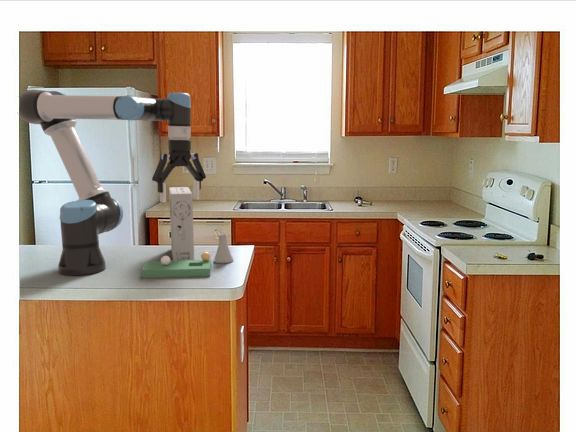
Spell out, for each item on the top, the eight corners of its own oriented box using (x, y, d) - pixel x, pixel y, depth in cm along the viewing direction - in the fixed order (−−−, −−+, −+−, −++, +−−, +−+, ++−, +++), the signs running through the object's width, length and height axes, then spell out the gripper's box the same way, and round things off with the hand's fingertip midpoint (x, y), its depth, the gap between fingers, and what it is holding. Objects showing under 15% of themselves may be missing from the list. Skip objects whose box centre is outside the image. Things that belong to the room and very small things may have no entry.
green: (141, 277, 172) (141, 270, 171) (147, 268, 183) (147, 261, 183) (209, 275, 174) (209, 268, 173) (211, 266, 186) (211, 259, 185)
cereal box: (194, 260, 194) (192, 193, 190) (173, 262, 192) (170, 193, 188) (190, 248, 214) (188, 186, 210) (171, 249, 213) (169, 187, 208)
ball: (160, 266, 176) (159, 257, 176) (161, 264, 179) (161, 254, 179) (170, 266, 176) (169, 256, 176) (171, 263, 180) (170, 254, 179)
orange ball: (201, 262, 182) (200, 253, 181) (201, 259, 185) (201, 250, 184) (210, 261, 182) (210, 252, 182) (210, 259, 185) (210, 250, 185)
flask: (209, 262, 191) (209, 235, 189) (219, 258, 197) (218, 232, 196) (227, 264, 188) (227, 237, 187) (236, 260, 195) (236, 233, 193)
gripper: (152, 139, 169) (153, 204, 173) (215, 139, 186) (215, 199, 190) (141, 138, 174) (142, 202, 178) (203, 138, 192) (203, 196, 195)
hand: (180, 200), depth 184 cm, fingers open, 13 cm apart
